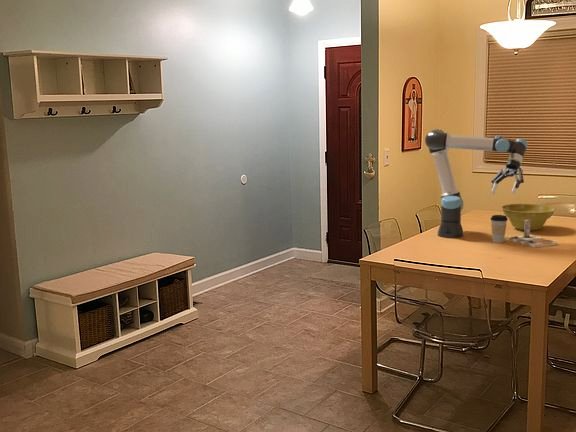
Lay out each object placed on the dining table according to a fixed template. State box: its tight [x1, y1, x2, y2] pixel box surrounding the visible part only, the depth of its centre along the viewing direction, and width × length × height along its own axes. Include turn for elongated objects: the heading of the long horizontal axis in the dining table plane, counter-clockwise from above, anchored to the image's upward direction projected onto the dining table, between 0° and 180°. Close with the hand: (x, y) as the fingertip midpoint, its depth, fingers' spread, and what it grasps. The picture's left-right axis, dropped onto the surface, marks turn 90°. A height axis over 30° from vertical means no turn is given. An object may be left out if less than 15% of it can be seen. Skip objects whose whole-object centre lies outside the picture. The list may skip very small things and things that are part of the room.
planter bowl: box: [500, 203, 557, 232], centre depth 394 cm, size 32×32×13 cm
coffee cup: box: [490, 214, 509, 244], centre depth 359 cm, size 9×9×15 cm
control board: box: [507, 220, 558, 248], centre depth 356 cm, size 22×16×12 cm
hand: (502, 192), depth 362 cm, fingers open, 13 cm apart
